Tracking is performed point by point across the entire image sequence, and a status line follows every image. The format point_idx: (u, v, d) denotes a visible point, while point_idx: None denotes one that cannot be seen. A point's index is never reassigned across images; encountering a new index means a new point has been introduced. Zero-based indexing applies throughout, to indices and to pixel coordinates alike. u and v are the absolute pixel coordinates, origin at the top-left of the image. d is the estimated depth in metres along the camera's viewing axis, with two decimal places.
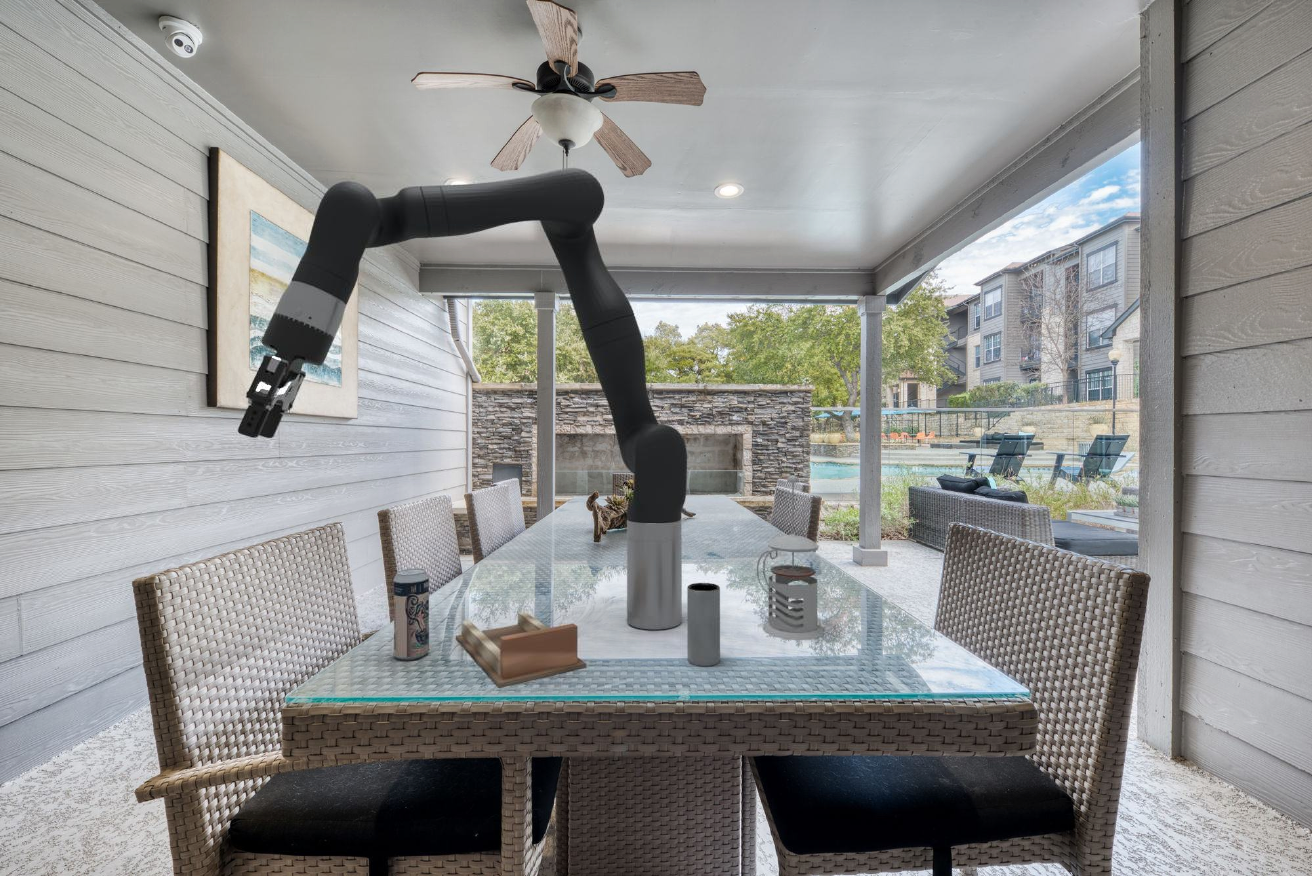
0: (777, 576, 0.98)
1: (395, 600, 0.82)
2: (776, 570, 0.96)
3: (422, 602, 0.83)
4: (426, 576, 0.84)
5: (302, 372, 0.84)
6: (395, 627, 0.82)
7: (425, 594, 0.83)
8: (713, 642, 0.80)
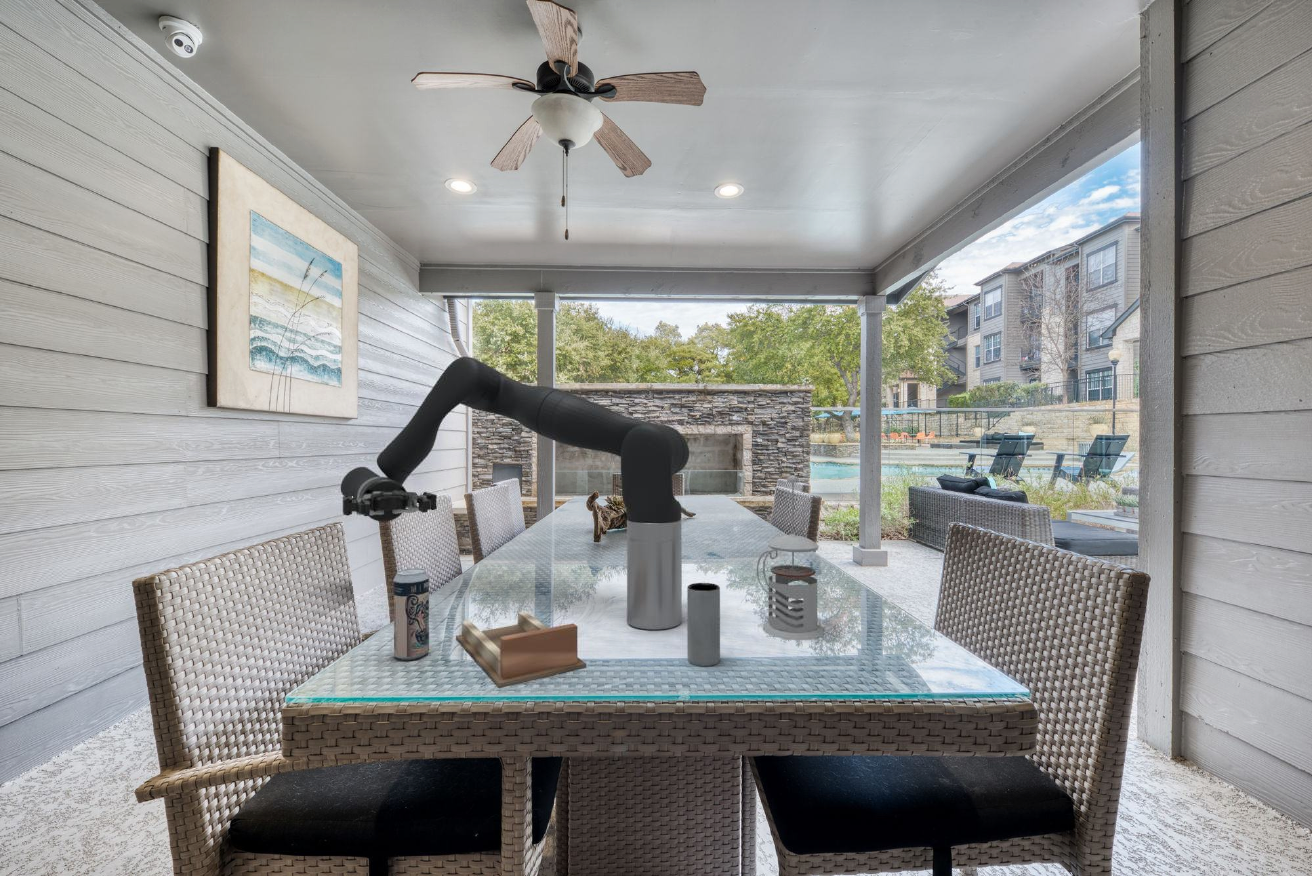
0: (777, 576, 0.98)
1: (395, 600, 0.82)
2: (776, 570, 0.96)
3: (422, 602, 0.83)
4: (426, 576, 0.84)
5: None
6: (395, 627, 0.82)
7: (425, 594, 0.83)
8: (713, 642, 0.80)
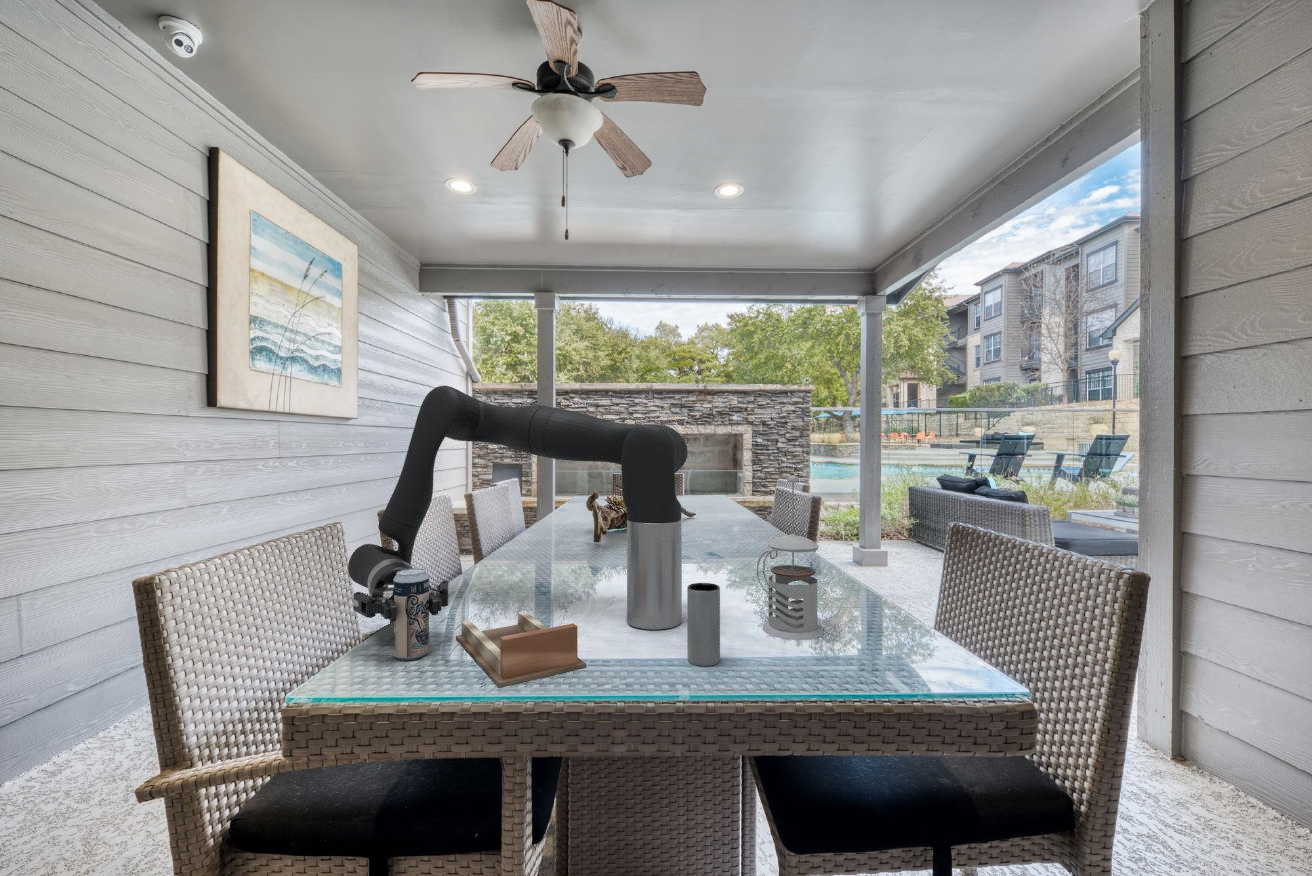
0: (777, 576, 0.98)
1: (395, 600, 0.82)
2: (776, 570, 0.96)
3: (422, 602, 0.83)
4: (426, 576, 0.84)
5: None
6: (395, 627, 0.82)
7: (425, 594, 0.83)
8: (713, 642, 0.80)
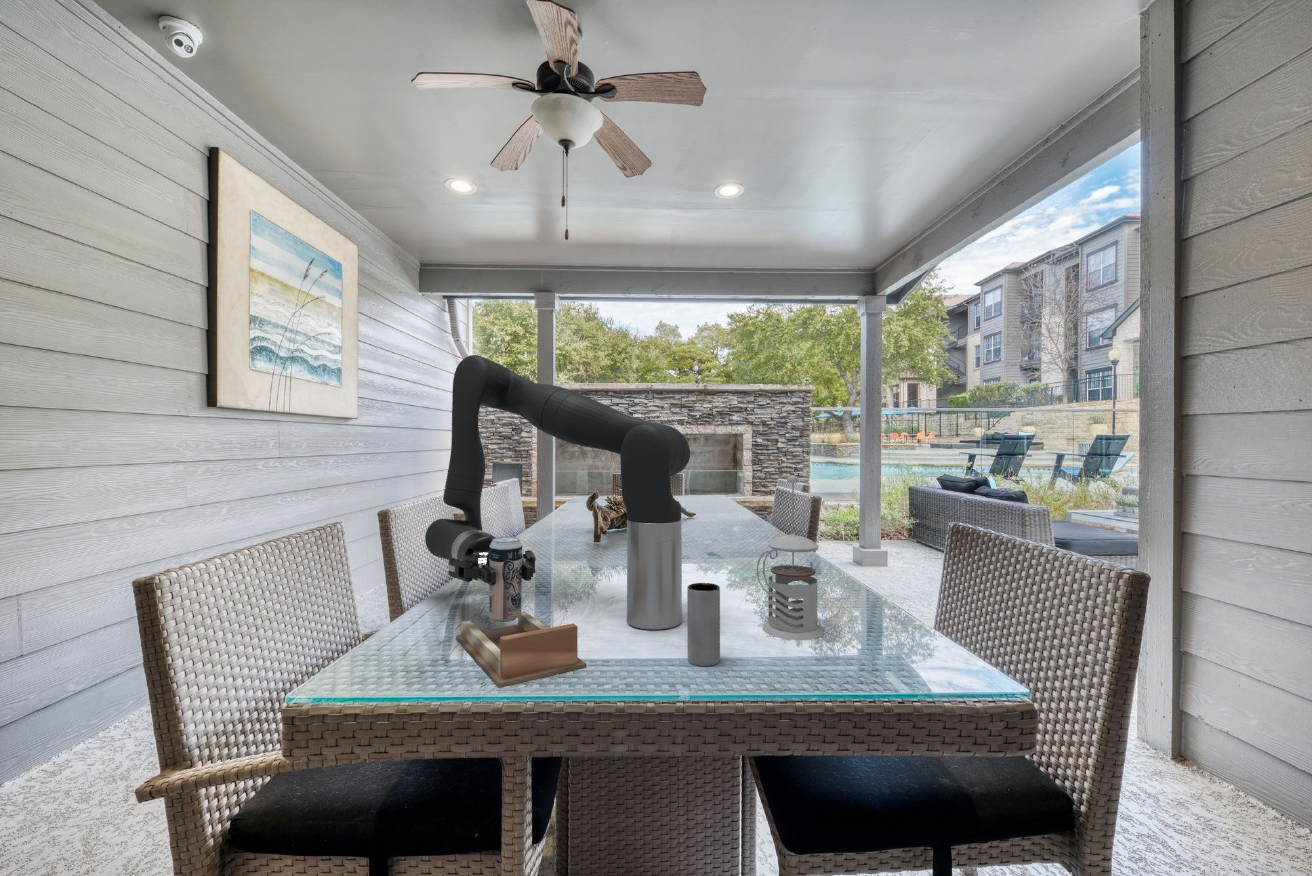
0: (777, 576, 0.98)
1: (492, 565, 0.87)
2: (776, 570, 0.96)
3: (517, 568, 0.88)
4: (520, 544, 0.88)
5: None
6: (492, 591, 0.87)
7: (519, 561, 0.88)
8: (713, 642, 0.80)
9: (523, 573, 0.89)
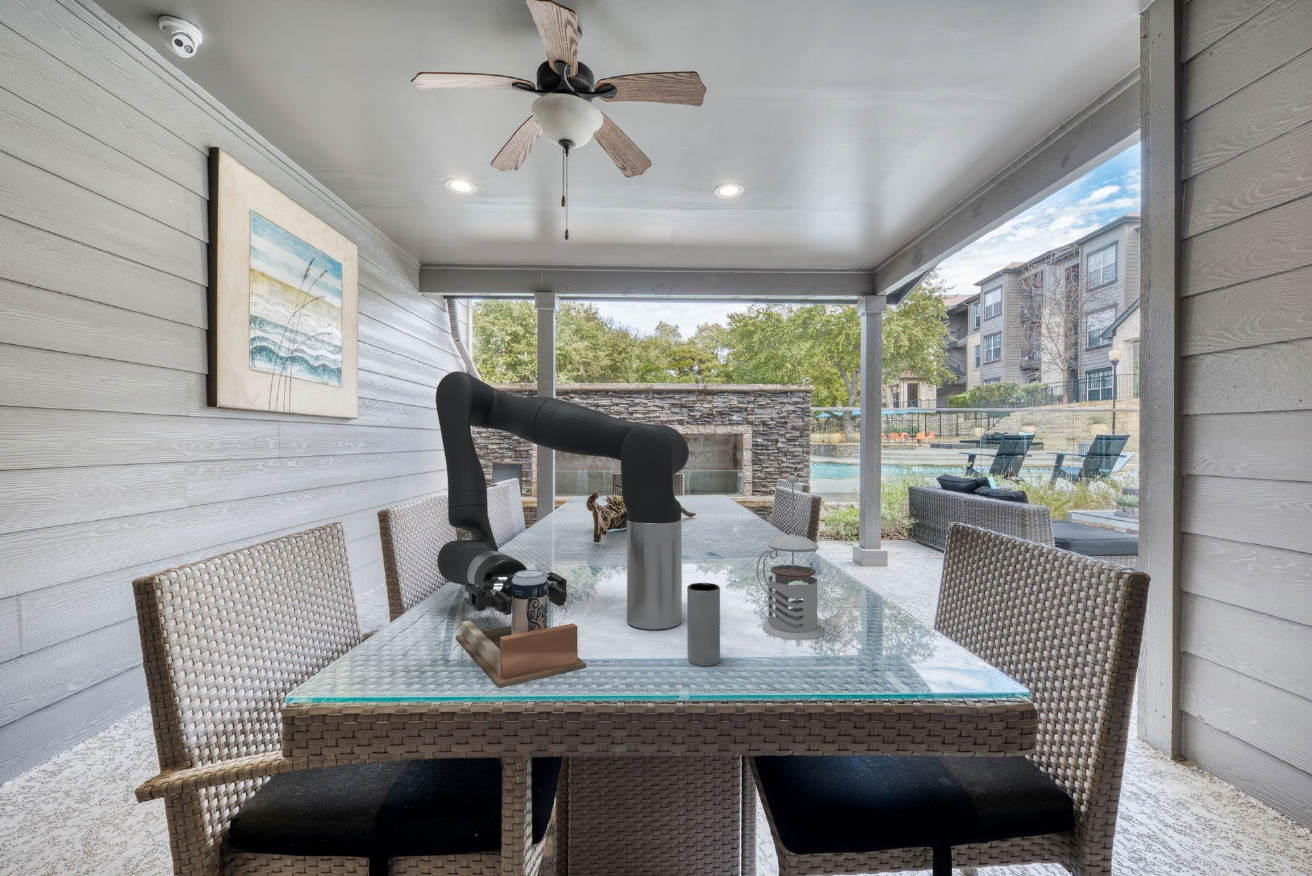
0: (777, 576, 0.98)
1: (515, 603, 0.79)
2: (776, 570, 0.96)
3: (542, 605, 0.79)
4: (545, 578, 0.80)
5: (548, 575, 0.90)
6: (515, 631, 0.79)
7: (544, 597, 0.80)
8: (713, 642, 0.80)
9: (555, 598, 0.82)
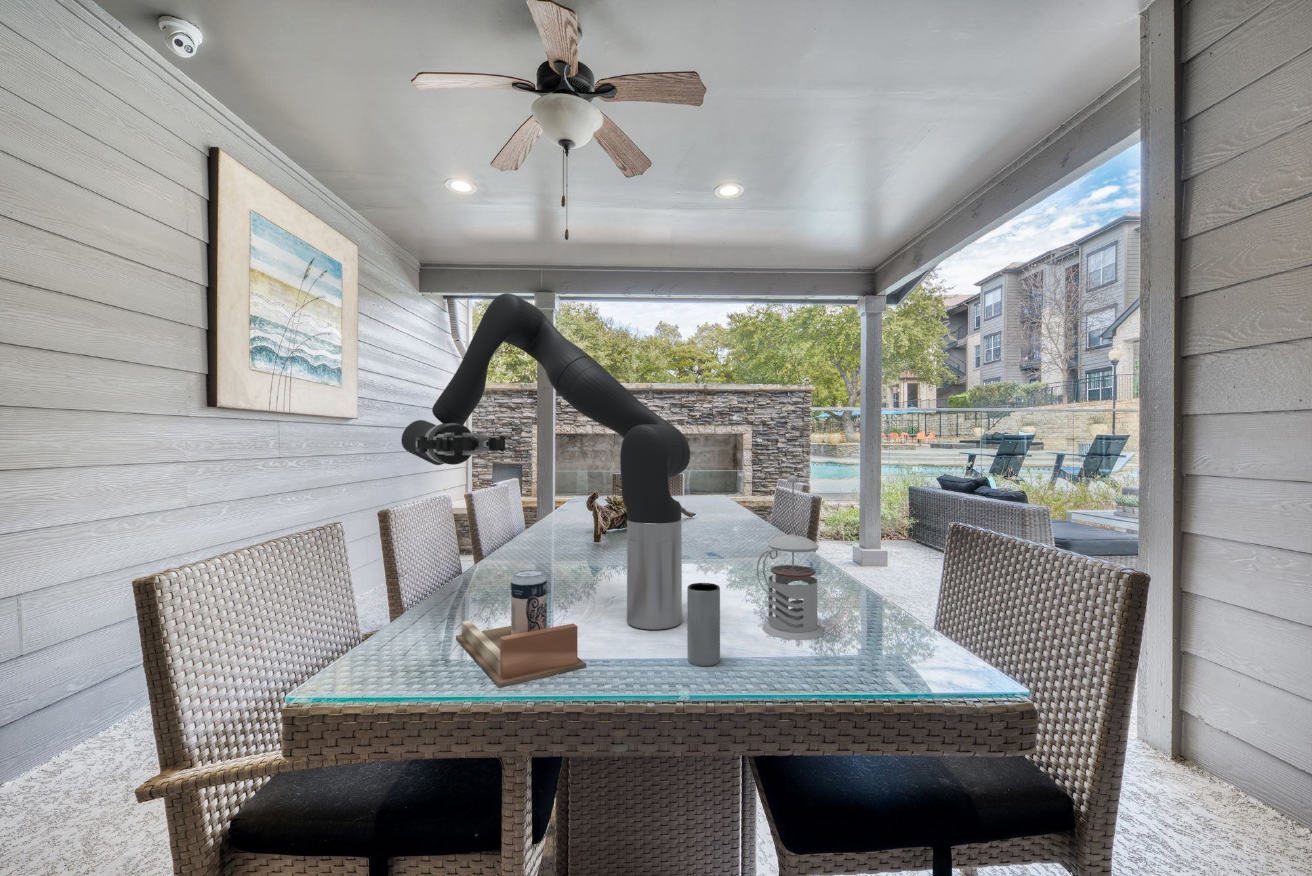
0: (777, 576, 0.98)
1: (514, 603, 0.79)
2: (776, 570, 0.96)
3: (542, 605, 0.79)
4: (544, 578, 0.81)
5: None
6: (515, 631, 0.79)
7: (544, 597, 0.80)
8: (713, 642, 0.80)
9: (493, 445, 0.98)
